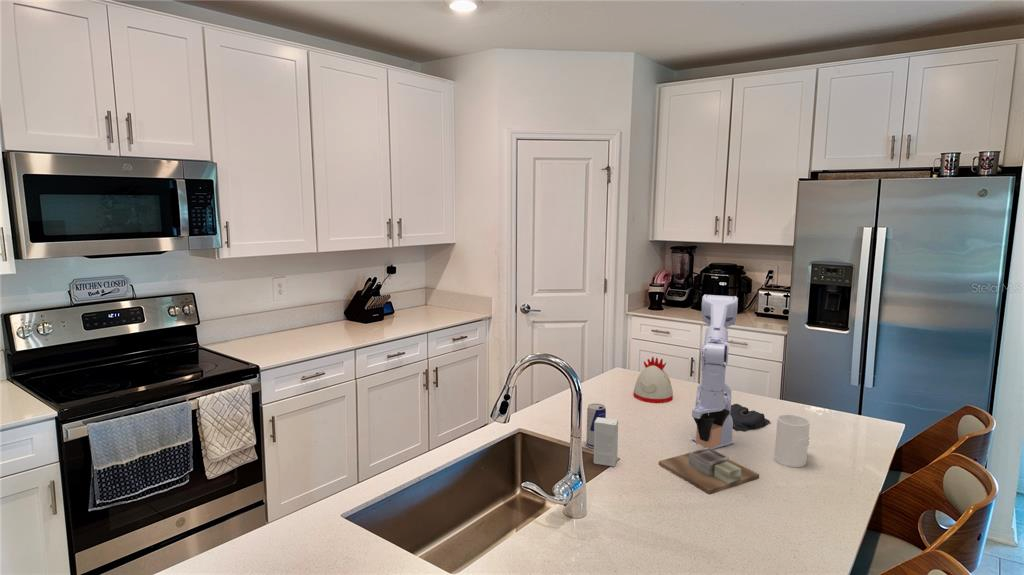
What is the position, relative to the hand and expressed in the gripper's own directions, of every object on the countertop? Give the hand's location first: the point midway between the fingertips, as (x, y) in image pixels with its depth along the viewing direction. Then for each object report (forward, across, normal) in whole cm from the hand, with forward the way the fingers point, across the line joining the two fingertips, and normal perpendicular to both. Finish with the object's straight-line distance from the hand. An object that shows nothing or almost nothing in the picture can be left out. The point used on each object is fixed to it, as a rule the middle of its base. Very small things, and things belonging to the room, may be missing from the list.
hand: (709, 437), depth 154 cm
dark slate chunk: (+10, -40, -17) cm, 45 cm away
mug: (+10, -25, +11) cm, 29 cm away
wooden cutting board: (+9, 0, 0) cm, 9 cm away
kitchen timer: (+10, -36, -46) cm, 59 cm away
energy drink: (+10, +12, -30) cm, 33 cm away
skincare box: (+10, +17, -21) cm, 29 cm away
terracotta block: (+2, 0, 0) cm, 2 cm away
